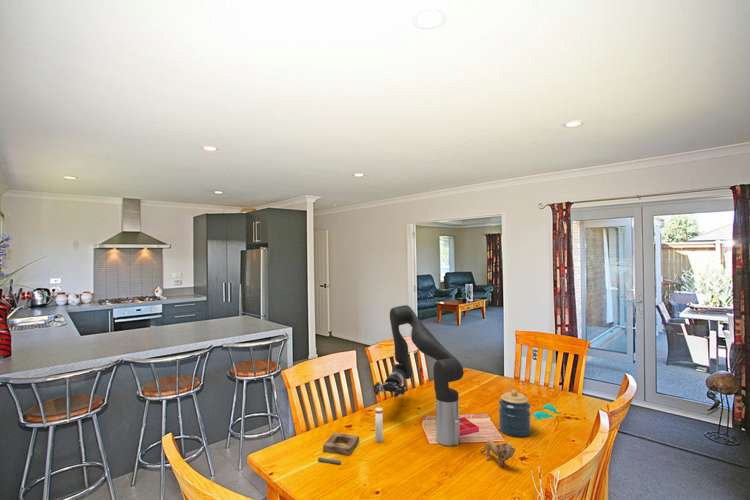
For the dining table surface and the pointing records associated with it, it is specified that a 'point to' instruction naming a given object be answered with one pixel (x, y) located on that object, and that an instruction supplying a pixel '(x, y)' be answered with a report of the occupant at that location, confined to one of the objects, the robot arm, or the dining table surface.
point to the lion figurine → (499, 451)
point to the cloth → (545, 415)
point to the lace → (329, 460)
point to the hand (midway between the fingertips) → (385, 394)
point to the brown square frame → (339, 448)
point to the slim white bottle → (379, 424)
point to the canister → (514, 414)
